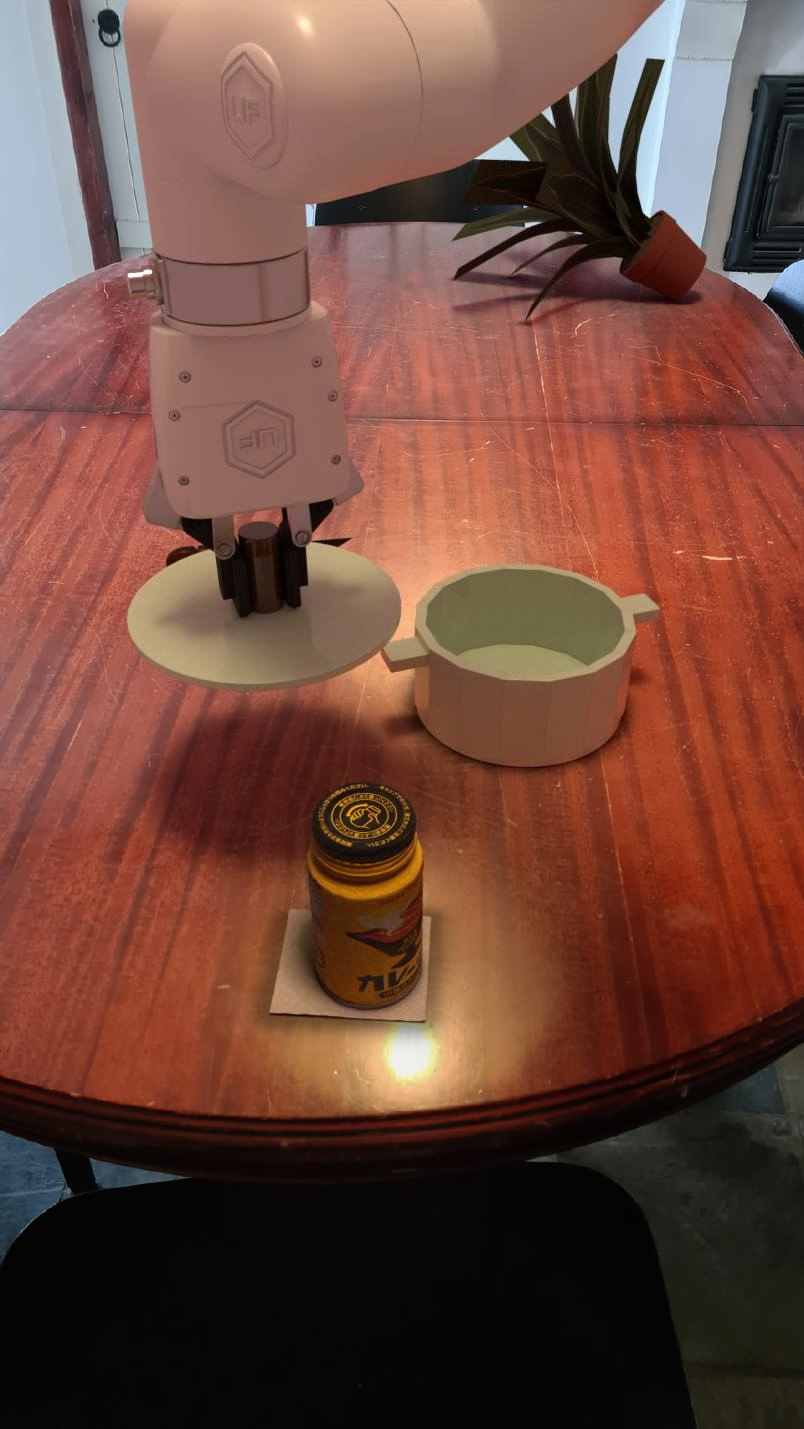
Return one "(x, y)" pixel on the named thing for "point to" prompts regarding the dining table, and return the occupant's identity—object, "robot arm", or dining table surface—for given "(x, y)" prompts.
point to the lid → (264, 618)
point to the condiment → (359, 913)
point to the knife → (191, 550)
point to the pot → (521, 662)
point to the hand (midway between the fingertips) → (265, 599)
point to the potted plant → (585, 192)
